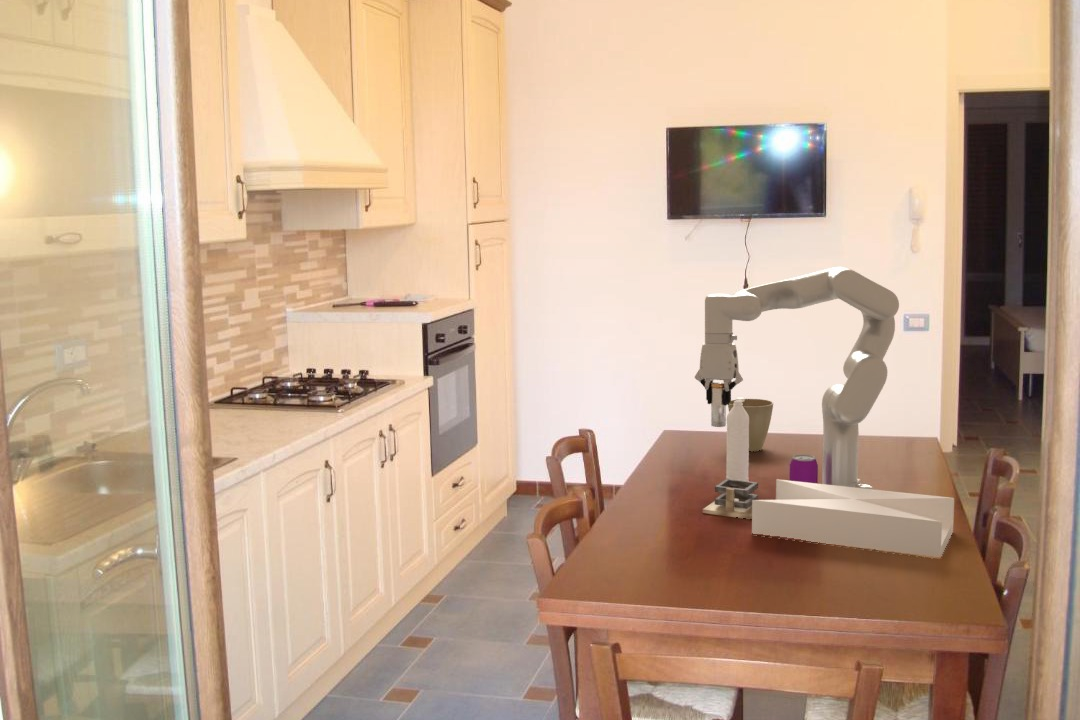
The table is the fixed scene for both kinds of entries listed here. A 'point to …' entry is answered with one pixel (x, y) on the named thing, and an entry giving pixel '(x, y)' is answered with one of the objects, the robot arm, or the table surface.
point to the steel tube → (717, 405)
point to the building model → (856, 517)
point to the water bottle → (737, 442)
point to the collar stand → (733, 499)
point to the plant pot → (757, 420)
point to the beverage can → (803, 469)
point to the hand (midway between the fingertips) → (718, 403)
